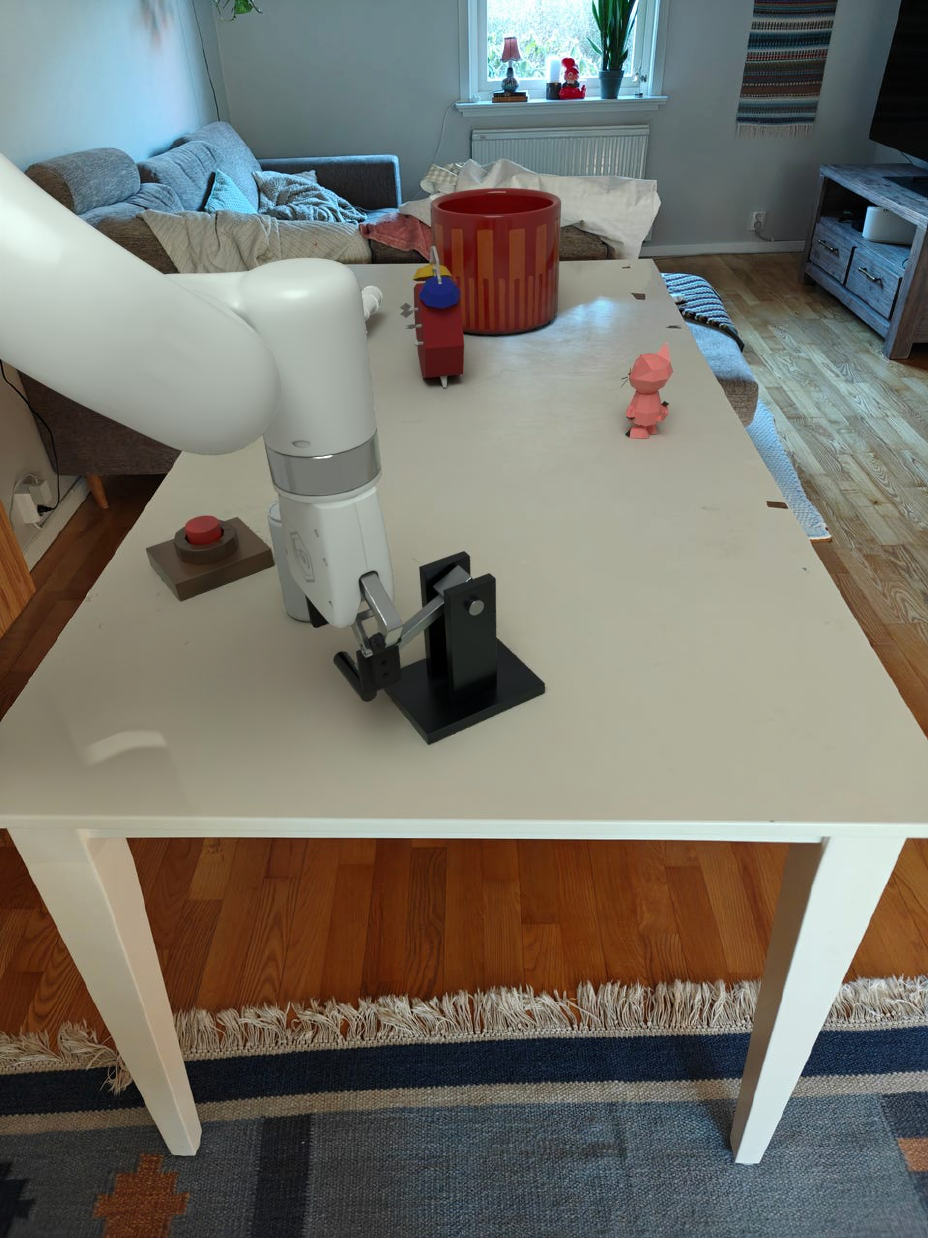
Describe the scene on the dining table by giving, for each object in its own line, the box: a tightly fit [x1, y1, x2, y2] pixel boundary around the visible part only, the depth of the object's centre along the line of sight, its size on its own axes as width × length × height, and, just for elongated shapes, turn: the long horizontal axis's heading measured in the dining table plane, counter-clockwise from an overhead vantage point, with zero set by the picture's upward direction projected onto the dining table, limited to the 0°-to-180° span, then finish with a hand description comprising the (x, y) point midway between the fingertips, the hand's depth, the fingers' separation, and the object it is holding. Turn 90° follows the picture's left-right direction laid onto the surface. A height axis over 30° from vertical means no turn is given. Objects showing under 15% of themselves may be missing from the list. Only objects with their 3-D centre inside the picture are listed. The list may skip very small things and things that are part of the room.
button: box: [184, 514, 222, 545], centre depth 92 cm, size 4×4×2 cm
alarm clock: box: [399, 246, 465, 389], centre depth 131 cm, size 15×9×20 cm, turn 9°
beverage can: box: [267, 499, 310, 623], centre depth 84 cm, size 5×5×12 cm
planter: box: [429, 187, 562, 336], centre depth 154 cm, size 23×23×20 cm
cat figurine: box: [620, 342, 674, 440], centre depth 115 cm, size 7×7×12 cm
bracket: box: [383, 550, 546, 746], centre depth 73 cm, size 12×9×13 cm
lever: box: [332, 565, 474, 703], centre depth 70 cm, size 13×6×2 cm, turn 121°
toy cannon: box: [361, 285, 384, 335], centre depth 154 cm, size 8×14×5 cm
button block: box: [145, 516, 275, 602], centre depth 94 cm, size 11×9×4 cm
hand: (354, 651), depth 68 cm, fingers open, 9 cm apart
